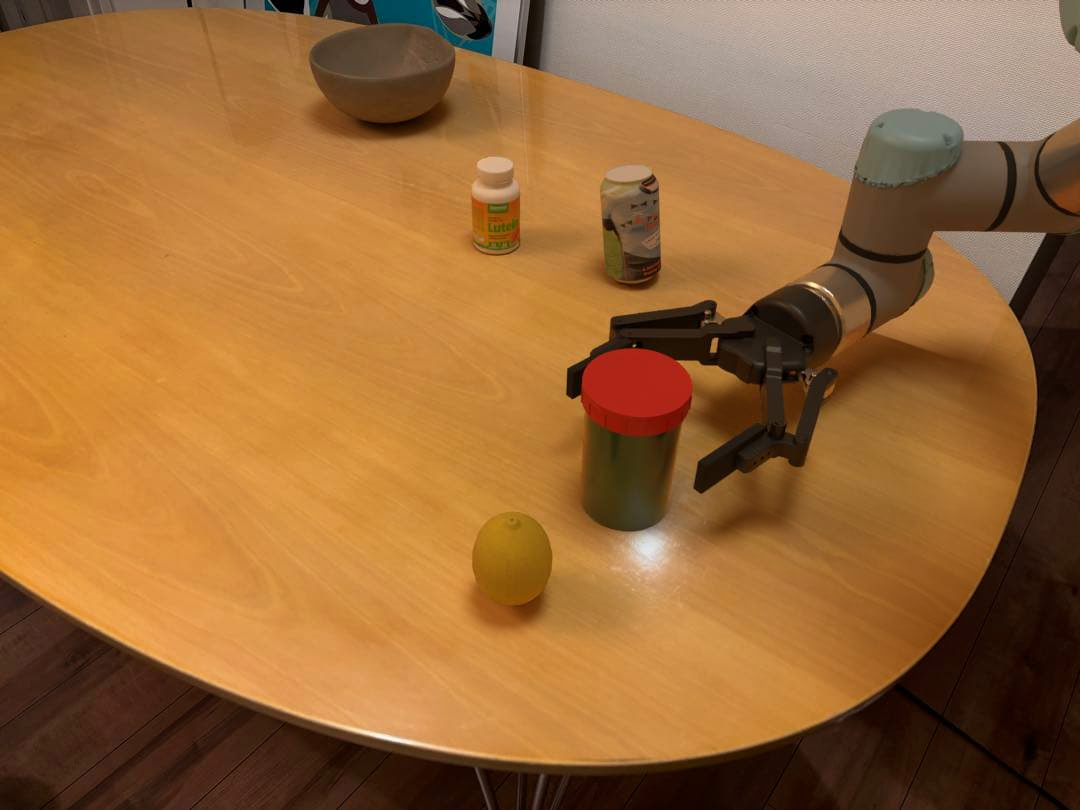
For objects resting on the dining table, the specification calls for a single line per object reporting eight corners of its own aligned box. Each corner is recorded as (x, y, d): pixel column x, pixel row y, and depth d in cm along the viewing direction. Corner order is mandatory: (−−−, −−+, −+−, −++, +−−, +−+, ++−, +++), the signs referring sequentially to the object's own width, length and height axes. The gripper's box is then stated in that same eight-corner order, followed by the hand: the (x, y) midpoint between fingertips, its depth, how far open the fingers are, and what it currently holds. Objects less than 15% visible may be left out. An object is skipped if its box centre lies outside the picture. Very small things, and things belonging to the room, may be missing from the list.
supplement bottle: (486, 260, 99) (484, 179, 92) (464, 239, 102) (461, 159, 96) (528, 248, 101) (529, 168, 95) (505, 227, 104) (504, 149, 98)
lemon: (565, 587, 64) (569, 511, 59) (522, 641, 61) (523, 565, 55) (503, 554, 66) (501, 478, 61) (458, 604, 63) (452, 528, 58)
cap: (692, 440, 61) (695, 420, 60) (578, 432, 62) (579, 413, 60) (687, 370, 67) (690, 351, 66) (583, 364, 68) (584, 345, 67)
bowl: (289, 118, 128) (277, 47, 122) (393, 80, 140) (387, 13, 134) (383, 157, 118) (375, 83, 112) (487, 113, 130) (485, 43, 124)
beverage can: (644, 297, 93) (655, 193, 86) (583, 277, 96) (589, 174, 89) (669, 270, 98) (682, 169, 90) (610, 252, 100) (618, 152, 93)
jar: (670, 534, 68) (689, 422, 61) (577, 527, 68) (584, 415, 61) (668, 469, 74) (684, 359, 66) (581, 463, 74) (588, 353, 67)
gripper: (920, 430, 72) (754, 561, 61) (691, 298, 86) (523, 386, 75) (949, 356, 67) (774, 484, 56) (701, 230, 81) (523, 313, 71)
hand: (630, 428), depth 66 cm, fingers open, 13 cm apart
